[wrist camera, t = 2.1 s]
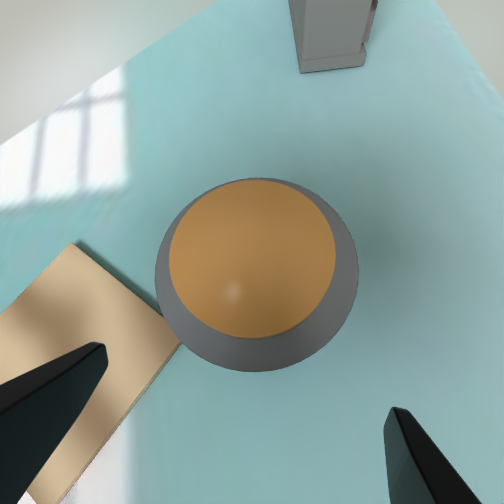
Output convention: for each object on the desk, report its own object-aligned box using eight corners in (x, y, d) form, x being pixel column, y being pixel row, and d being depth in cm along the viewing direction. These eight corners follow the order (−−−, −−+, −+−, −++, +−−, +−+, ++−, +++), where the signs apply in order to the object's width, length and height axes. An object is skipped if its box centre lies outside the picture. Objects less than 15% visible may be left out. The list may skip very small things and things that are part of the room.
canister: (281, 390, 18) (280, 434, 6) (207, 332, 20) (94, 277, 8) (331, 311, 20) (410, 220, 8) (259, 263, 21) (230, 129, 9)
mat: (53, 510, 17) (45, 515, 16) (-51, 377, 20) (-61, 377, 20) (187, 336, 20) (184, 335, 19) (76, 245, 23) (71, 242, 23)
